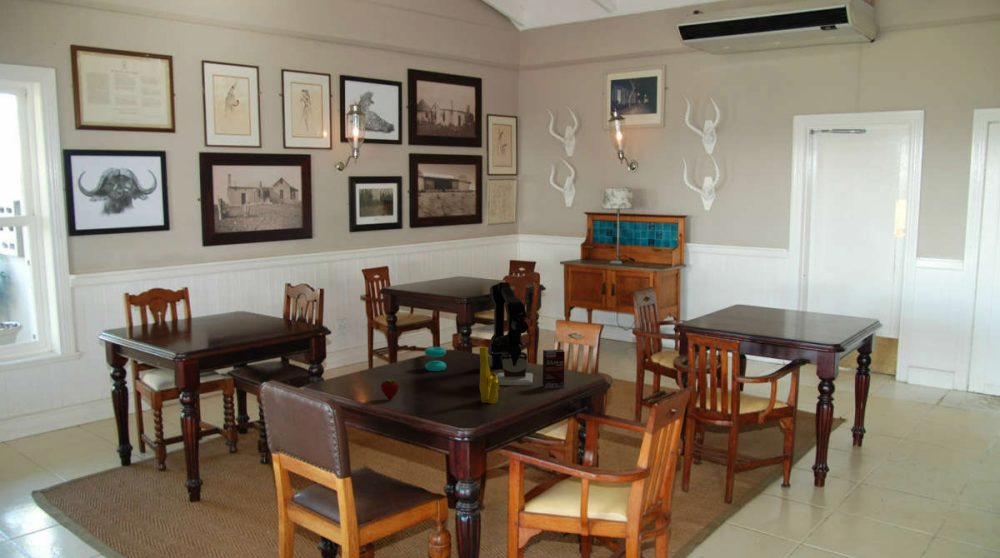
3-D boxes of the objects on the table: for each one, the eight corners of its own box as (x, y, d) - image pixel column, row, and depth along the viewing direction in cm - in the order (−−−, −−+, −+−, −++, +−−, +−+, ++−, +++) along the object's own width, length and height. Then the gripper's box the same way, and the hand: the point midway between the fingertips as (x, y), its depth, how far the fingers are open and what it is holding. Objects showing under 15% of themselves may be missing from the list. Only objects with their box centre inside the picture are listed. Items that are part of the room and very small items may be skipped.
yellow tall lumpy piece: (492, 408, 305) (492, 352, 303) (473, 406, 307) (473, 351, 305) (503, 396, 322) (503, 343, 320) (485, 395, 324) (485, 342, 322)
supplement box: (545, 388, 335) (545, 352, 333) (542, 386, 340) (542, 349, 338) (564, 387, 337) (565, 351, 335) (561, 385, 341) (561, 348, 340)
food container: (529, 371, 353) (528, 350, 350) (529, 376, 347) (528, 355, 344) (501, 371, 353) (501, 350, 351) (501, 377, 347) (500, 355, 345)
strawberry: (385, 397, 322) (384, 373, 321) (401, 398, 319) (401, 374, 318) (378, 400, 316) (377, 376, 315) (395, 402, 314) (394, 377, 313)
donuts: (443, 350, 365) (422, 350, 366) (443, 372, 366) (422, 371, 368) (448, 346, 375) (427, 346, 376) (448, 367, 376) (427, 366, 377)
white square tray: (497, 376, 357) (497, 372, 357) (533, 376, 356) (533, 372, 356) (495, 385, 341) (495, 380, 341) (532, 385, 341) (532, 380, 340)
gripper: (497, 325, 356) (497, 359, 358) (495, 333, 338) (495, 369, 339) (522, 325, 355) (522, 359, 357) (521, 333, 337) (521, 369, 339)
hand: (514, 364), depth 348 cm, fingers closed on food container, 6 cm apart
